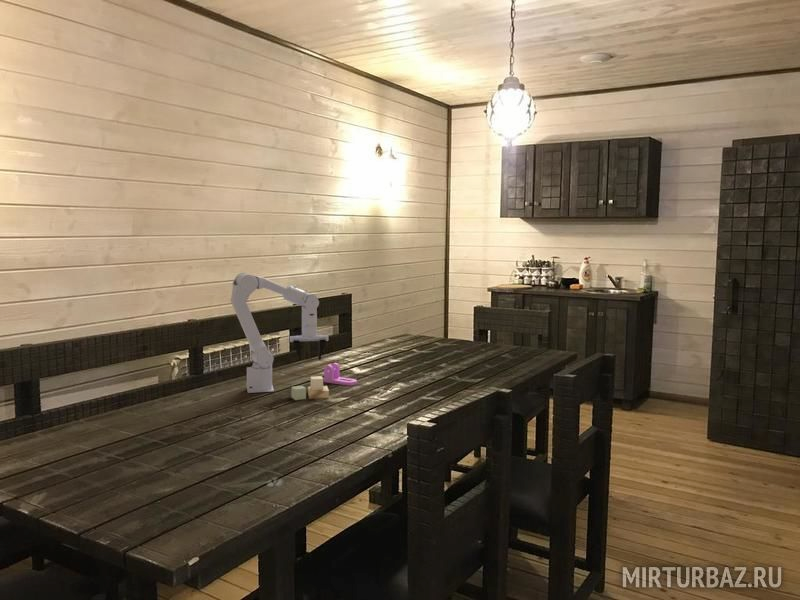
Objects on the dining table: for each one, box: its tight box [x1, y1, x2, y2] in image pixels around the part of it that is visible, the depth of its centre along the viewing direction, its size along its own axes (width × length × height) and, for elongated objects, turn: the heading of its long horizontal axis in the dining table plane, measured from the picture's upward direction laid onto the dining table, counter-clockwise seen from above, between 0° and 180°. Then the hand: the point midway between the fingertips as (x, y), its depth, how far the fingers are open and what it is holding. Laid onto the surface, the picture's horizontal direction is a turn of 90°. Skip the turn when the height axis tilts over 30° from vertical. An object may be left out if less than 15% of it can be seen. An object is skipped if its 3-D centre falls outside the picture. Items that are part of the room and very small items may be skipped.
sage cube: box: [290, 385, 307, 401], centre depth 227 cm, size 4×4×4 cm
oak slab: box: [307, 385, 330, 400], centre depth 230 cm, size 7×7×3 cm
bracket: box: [323, 362, 358, 386], centre depth 250 cm, size 13×6×7 cm, turn 62°
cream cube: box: [310, 375, 324, 390], centre depth 230 cm, size 4×4×4 cm
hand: (309, 359), depth 245 cm, fingers open, 7 cm apart
